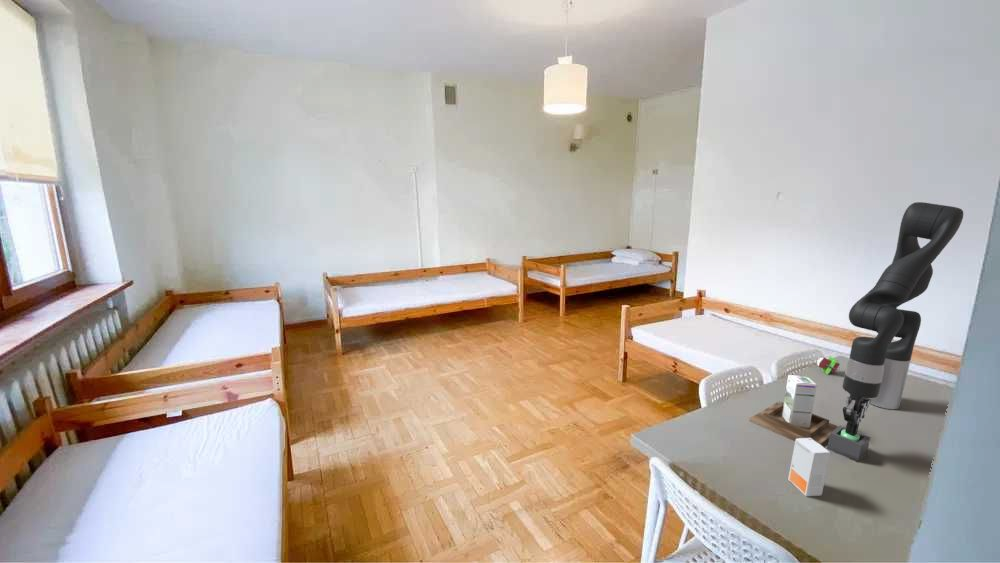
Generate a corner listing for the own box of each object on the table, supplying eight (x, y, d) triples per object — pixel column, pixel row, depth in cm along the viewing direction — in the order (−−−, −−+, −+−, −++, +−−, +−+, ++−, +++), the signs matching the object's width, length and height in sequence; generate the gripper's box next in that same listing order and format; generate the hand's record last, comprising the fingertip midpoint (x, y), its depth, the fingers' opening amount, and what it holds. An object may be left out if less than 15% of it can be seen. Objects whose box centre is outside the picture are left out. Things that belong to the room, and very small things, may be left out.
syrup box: (810, 428, 128) (818, 384, 124) (788, 426, 129) (796, 382, 125) (801, 418, 133) (808, 376, 130) (780, 416, 134) (787, 374, 131)
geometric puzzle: (837, 364, 171) (827, 349, 170) (849, 372, 164) (838, 356, 163) (820, 374, 172) (810, 358, 171) (831, 381, 165) (820, 365, 164)
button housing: (836, 440, 123) (840, 425, 122) (867, 453, 117) (870, 437, 116) (826, 448, 119) (830, 432, 118) (857, 461, 114) (861, 445, 113)
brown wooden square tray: (776, 405, 143) (777, 397, 142) (840, 430, 128) (842, 421, 128) (749, 421, 133) (750, 412, 133) (815, 450, 119) (817, 440, 118)
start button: (842, 437, 121) (844, 427, 120) (860, 444, 117) (862, 434, 117) (837, 441, 118) (839, 432, 118) (854, 449, 115) (856, 439, 114)
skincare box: (787, 480, 107) (794, 437, 104) (802, 479, 107) (810, 437, 104) (806, 497, 101) (814, 453, 98) (822, 496, 101) (831, 452, 98)
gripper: (872, 387, 107) (858, 448, 110) (889, 375, 114) (876, 432, 118) (836, 376, 113) (825, 434, 117) (855, 365, 120) (843, 420, 124)
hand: (850, 433), depth 117 cm, fingers closed
